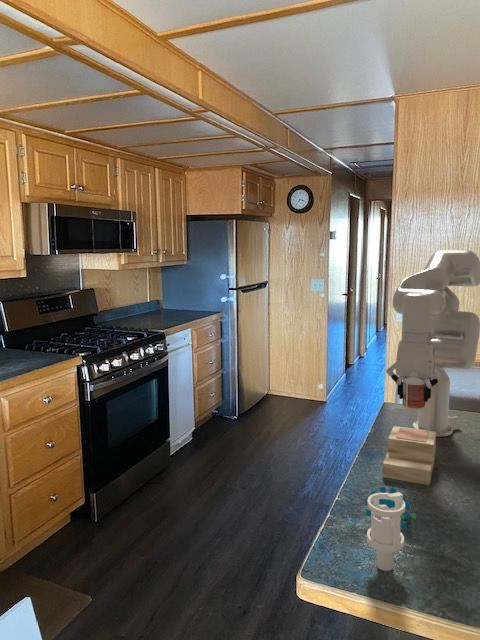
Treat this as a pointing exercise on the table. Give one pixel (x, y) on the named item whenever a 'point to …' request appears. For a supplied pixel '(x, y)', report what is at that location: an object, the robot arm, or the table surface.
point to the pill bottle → (414, 392)
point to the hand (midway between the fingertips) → (413, 398)
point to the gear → (390, 504)
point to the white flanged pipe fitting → (385, 528)
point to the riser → (410, 455)
